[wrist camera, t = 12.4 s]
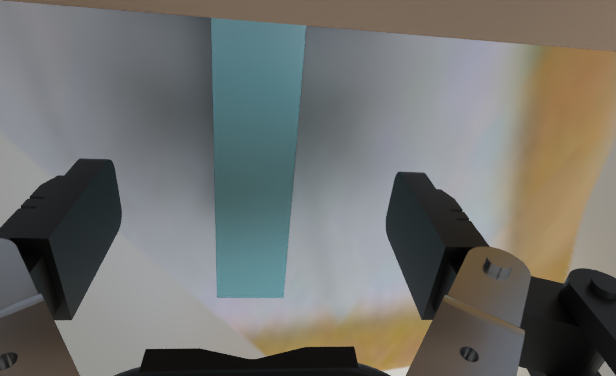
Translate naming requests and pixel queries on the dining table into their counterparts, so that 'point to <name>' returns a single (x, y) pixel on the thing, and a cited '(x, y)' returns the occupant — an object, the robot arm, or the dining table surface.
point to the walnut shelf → (410, 17)
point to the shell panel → (254, 151)
